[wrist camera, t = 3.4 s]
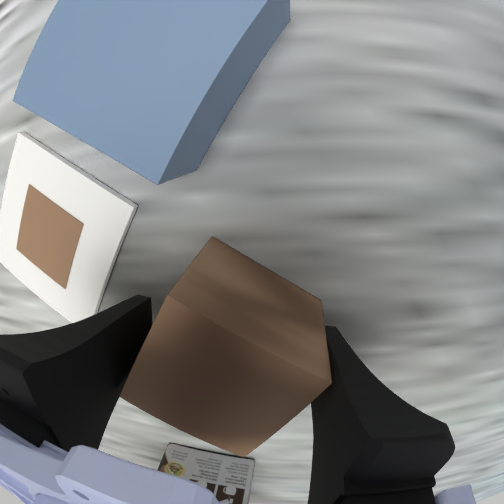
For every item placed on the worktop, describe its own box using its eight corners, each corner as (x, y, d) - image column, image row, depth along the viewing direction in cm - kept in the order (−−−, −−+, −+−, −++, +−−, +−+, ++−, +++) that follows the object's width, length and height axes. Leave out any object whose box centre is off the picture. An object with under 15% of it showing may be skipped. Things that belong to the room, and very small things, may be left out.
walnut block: (321, 300, 13) (331, 383, 8) (257, 375, 15) (243, 457, 10) (212, 236, 12) (167, 295, 8) (164, 324, 14) (119, 396, 10)
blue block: (290, 21, 9) (288, -27, 6) (198, 169, 12) (157, 184, 8) (148, -28, 9) (105, -66, 5) (74, 102, 11) (12, 100, 8)
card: (138, 205, 12) (132, 208, 12) (91, 330, 15) (87, 335, 15) (23, 131, 12) (17, 132, 11) (-1, 255, 15) (-6, 257, 14)
